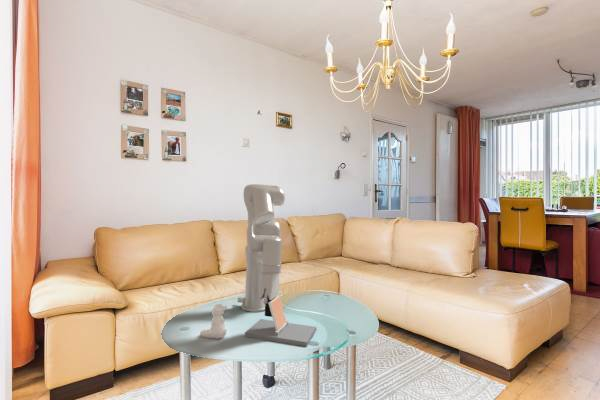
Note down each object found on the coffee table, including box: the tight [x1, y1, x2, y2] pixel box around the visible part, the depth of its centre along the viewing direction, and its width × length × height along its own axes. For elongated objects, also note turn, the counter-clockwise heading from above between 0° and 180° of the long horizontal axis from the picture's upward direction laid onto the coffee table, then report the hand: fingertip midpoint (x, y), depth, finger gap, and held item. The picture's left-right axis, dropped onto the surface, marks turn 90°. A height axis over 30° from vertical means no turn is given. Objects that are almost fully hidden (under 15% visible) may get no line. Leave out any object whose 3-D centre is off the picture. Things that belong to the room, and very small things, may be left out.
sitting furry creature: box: [199, 303, 228, 340], centre depth 123 cm, size 10×9×12 cm
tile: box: [268, 295, 287, 331], centre depth 128 cm, size 11×10×1 cm
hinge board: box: [244, 318, 317, 347], centre depth 128 cm, size 24×16×3 cm, turn 75°
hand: (269, 315), depth 129 cm, fingers closed
